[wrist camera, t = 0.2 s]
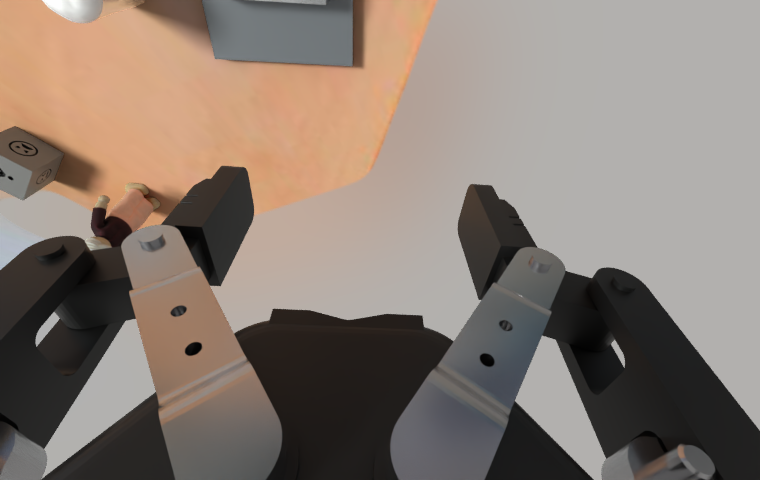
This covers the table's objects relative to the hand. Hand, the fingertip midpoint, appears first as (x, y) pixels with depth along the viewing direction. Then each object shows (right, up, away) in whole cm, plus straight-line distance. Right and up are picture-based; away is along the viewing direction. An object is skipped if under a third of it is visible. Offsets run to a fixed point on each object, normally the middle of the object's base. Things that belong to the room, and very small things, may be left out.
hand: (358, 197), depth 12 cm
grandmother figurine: (-31, +4, +33) cm, 46 cm away
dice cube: (-42, +9, +29) cm, 51 cm away
